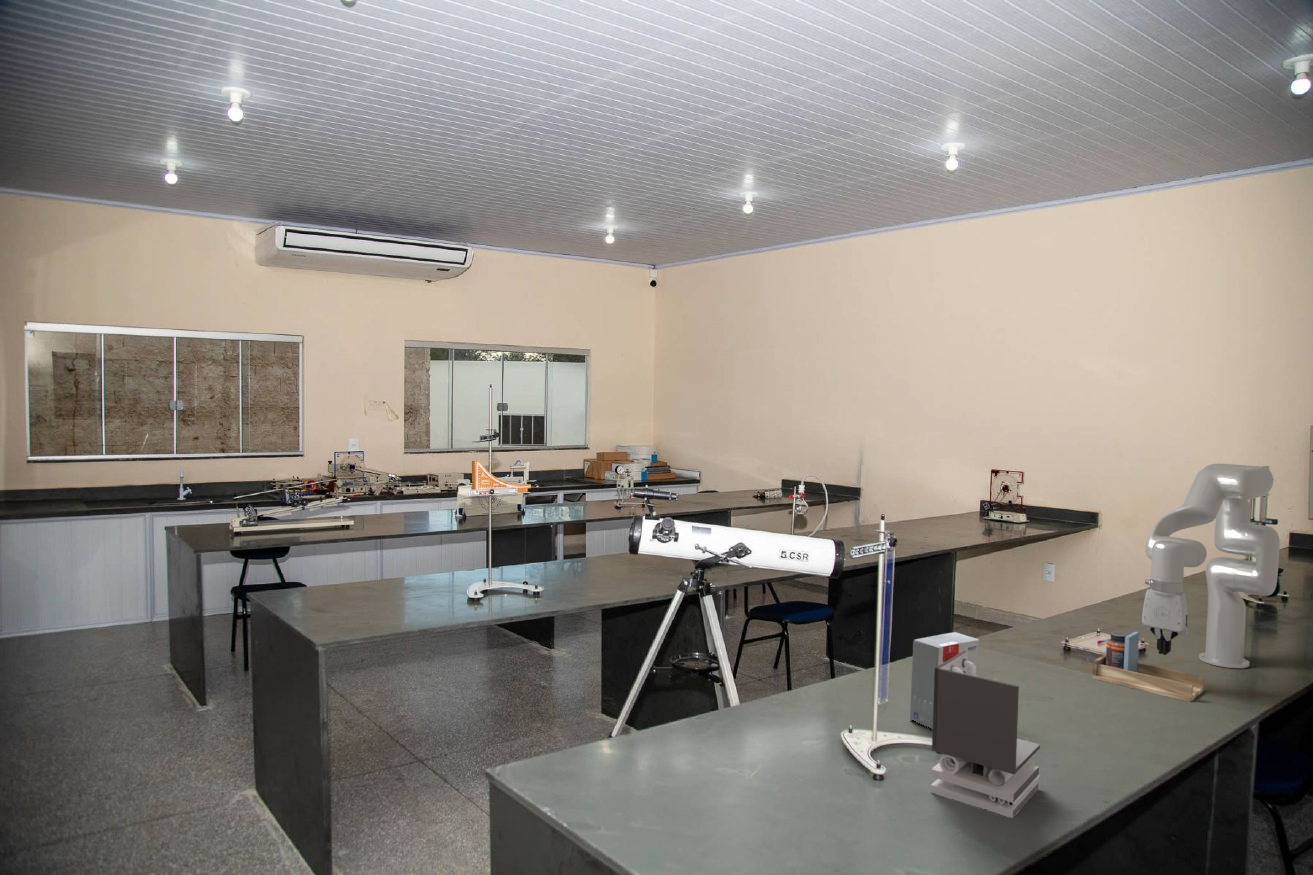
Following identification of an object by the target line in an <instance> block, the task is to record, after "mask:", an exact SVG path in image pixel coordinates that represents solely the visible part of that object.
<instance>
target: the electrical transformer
mask: <svg viewBox="0 0 1313 875" xmlns="http://www.w3.org/2000/svg"><path fill="white" fill-rule="evenodd" d="M967 667H970V668H971V674H968V673H967ZM1019 694H1020V685H1015V684H1010V683H1006V682H1003V681H998V680H993V679H989V678H984V677H979V676H977V677H976V666H975V665H974V663H972V662H970V661H968V651H963V652H961V653H959V654H958V655H956V656H954V657H953V658H951V659H949V660H948V661H946V662H944V663H943V664H941V665H939V666H938V667H936V668H935V672H934V703H933V729H932V734H931V736H932V737H931V738H932V740H931V751H934V752H936V753H940V754H942V755H941V756H940V758H939V760H938V763H937V764H936V765H934V766H933V767H932V768H931V772H930V777H931V778H934V779H935V781H933V782H932V783H931V784H930V793H931V794H934V793H935V795H937V796H940V797H943V796H944V797H943V798H946V797H947V798H946V799H950V800H952V799H954V800H953V801H955V800H957V802H958V801H962V802H964V803H963V804H965V803H968V804H972V805H975V806H977V807H981V808H983V809H988V810H990V811H993V812H997V813H1000V814H1002V815H1007V816H1009V817H1014V815H1016V813H1017V812H1018V811H1019V810H1020V809H1021V808H1022V807H1023V805H1024V804H1025V805H1027V803H1028V802H1029V801H1030V800H1031V799H1032V797H1034V795H1035V794H1036V793H1037V792H1038V791H1039V781H1038V780H1039V779H1040V774H1039V773H1040V772H1039V771H1040V766H1037V765H1035V764H1031V763H1028V762H1029V761H1030V760H1031V759H1033V756H1034V755H1035V754H1036V753H1037V752H1038V751H1039V749H1041V744H1040V743H1036V742H1032V741H1029V740H1024V739H1020V738H1018V724H1019V723H1018V721H1019V718H1018V717H1019ZM1037 790H1038V791H1037ZM1036 791H1037V792H1036ZM1035 792H1036V793H1035ZM1034 793H1035V794H1034ZM1033 794H1034V795H1033ZM1030 798H1031V799H1030ZM1029 799H1030V800H1029ZM1028 800H1029V801H1028ZM1027 801H1028V802H1027ZM962 802H961V803H962ZM1026 802H1027V803H1026ZM968 804H967V805H968ZM977 807H976V808H977ZM1023 808H1024V807H1023ZM1023 808H1022V809H1023ZM983 809H982V810H983ZM1022 809H1021V810H1022ZM1021 810H1020V811H1021ZM1020 811H1019V812H1020ZM1019 812H1018V813H1019ZM1016 816H1017V815H1016ZM1014 818H1015V817H1014Z"/></svg>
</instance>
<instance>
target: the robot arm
mask: <svg viewBox="0 0 1313 875" xmlns="http://www.w3.org/2000/svg"><path fill="white" fill-rule="evenodd" d="M1273 476H1274V475H1273V474H1272V472H1271V470H1270V469H1268V468H1267V467H1265V466H1259V465H1246V464H1233V463H1211V464H1208V465H1206V466H1205V467H1204V468H1202V469H1201V470H1199V471H1198V472H1197V474H1196V475H1195V478H1194V480H1193V482H1192V484H1191V487H1190V488H1189V491H1188V493H1187V495H1186V497H1185V499H1184V501H1183V504H1182V505H1181V506H1179V507H1177V508H1175V509H1174V510H1172V511H1170V512H1168V513H1167V514H1165V515H1164V516H1162V517H1161V518H1160V519H1158V520H1157V521H1156V522H1155V523H1154V525H1153V527H1152V529H1151V531H1150V533H1149V536H1148V538H1147V541H1146V544H1145V553H1146V557H1148V558H1149V560H1151V570H1150V571H1151V572H1150V578H1149V579H1145V580H1144V584H1145V585H1148V586H1149V588H1147V589H1146V592H1145V594H1144V601H1143V606H1142V613H1141V614H1142V615H1141V623H1142V628H1143V629H1146V630H1147V631H1150V632H1151V633H1152V635H1154V637H1155V639H1156V650H1158V654H1159V655H1164V656H1166V655H1168V654H1169V653H1171V651H1172V640H1173V639H1175V638H1176V637H1187V636H1188V634H1189V633H1188V625H1189V624H1188V623H1189V612H1188V601H1187V596H1186V593H1185V592H1184V576H1185V575H1184V574H1185V573H1184V572H1185V568H1197V567H1199V566H1201V565H1202V564H1204V562H1205V561H1206V560H1207V555H1208V554H1207V553H1208V552H1207V549H1206V547H1205V545H1204V544H1203V543H1202V542H1200V541H1197V540H1195V539H1191V538H1190V539H1188V538H1181V537H1176V536H1171V535H1173V534H1174V533H1176V532H1178V531H1182V530H1185V529H1189V528H1194V527H1199V526H1203V525H1207V524H1209V523H1212V522H1213V521H1214V523H1215V524H1214V525H1215V526H1214V538H1213V539H1214V545H1215V548H1216V549H1217V550H1219V552H1222V553H1227V554H1232V555H1239V556H1246V557H1253V558H1255V561H1253V560H1246V559H1240V558H1233V557H1227V556H1226V557H1225V556H1218V557H1212V558H1211V559H1209V561H1208V562H1207V563H1206V565H1205V579H1206V586H1207V612H1206V613H1207V615H1206V629H1205V631H1206V632H1205V633H1206V634H1205V635H1206V636H1205V652H1204V651H1203V652H1201V653H1199V655H1198V658H1199V660H1200V661H1202V662H1204V663H1206V664H1209V665H1212V666H1216V667H1221V668H1226V669H1227V668H1228V669H1246V668H1248V667H1249V668H1250V667H1251V666H1250V661H1249V660H1247V659H1246V658H1244V655H1245V654H1244V653H1245V640H1246V639H1245V635H1246V617H1247V616H1246V615H1247V606H1246V603H1245V601H1244V599H1243V597H1242V596H1241V594H1240V593H1243V594H1250V595H1257V596H1261V597H1263V596H1266V597H1267V596H1270V595H1272V594H1273V593H1274V592H1275V590H1276V588H1277V585H1278V584H1277V583H1278V574H1279V561H1280V559H1279V558H1280V548H1281V547H1280V546H1281V545H1280V544H1281V543H1280V536H1279V533H1278V532H1277V530H1276V529H1275V528H1273V527H1271V526H1268V525H1263V524H1255V523H1251V514H1252V513H1251V511H1252V507H1251V503H1250V502H1249V500H1255V499H1257V498H1260V497H1261V498H1262V497H1264V496H1267V495H1268V493H1269V492H1270V491H1271V490H1272V488H1273V486H1274V477H1273ZM1164 631H1166V633H1165V636H1164Z"/></svg>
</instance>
